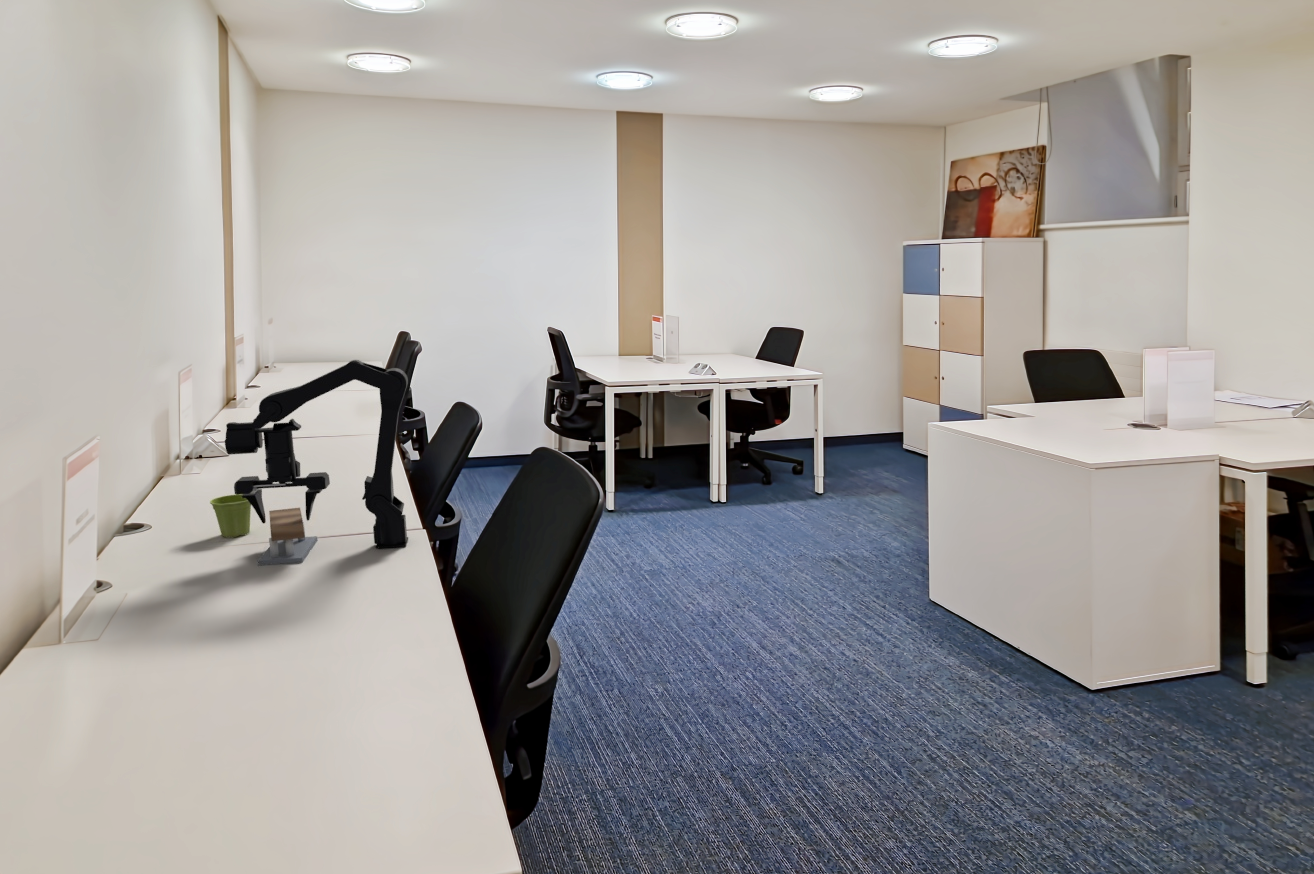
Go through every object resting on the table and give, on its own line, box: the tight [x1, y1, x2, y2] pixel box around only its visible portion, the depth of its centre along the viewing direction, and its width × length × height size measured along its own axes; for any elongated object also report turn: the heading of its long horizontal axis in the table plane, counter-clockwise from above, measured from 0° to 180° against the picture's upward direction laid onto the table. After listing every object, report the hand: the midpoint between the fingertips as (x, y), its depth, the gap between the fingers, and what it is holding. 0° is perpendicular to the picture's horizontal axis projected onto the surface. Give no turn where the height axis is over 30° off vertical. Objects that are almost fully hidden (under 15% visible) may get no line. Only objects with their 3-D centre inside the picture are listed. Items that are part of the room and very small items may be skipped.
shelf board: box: [269, 507, 306, 541], centre depth 207 cm, size 16×6×3 cm, turn 23°
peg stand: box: [257, 521, 318, 566], centre depth 208 cm, size 17×9×5 cm, turn 9°
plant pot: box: [209, 494, 252, 538], centre depth 224 cm, size 9×9×9 cm
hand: (286, 521), depth 207 cm, fingers open, 9 cm apart
